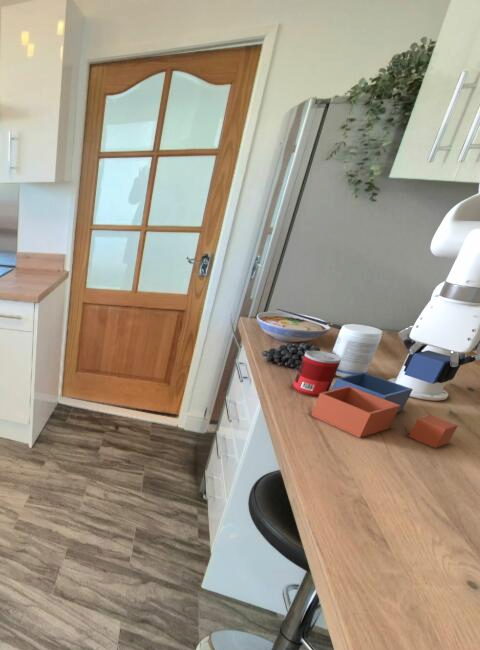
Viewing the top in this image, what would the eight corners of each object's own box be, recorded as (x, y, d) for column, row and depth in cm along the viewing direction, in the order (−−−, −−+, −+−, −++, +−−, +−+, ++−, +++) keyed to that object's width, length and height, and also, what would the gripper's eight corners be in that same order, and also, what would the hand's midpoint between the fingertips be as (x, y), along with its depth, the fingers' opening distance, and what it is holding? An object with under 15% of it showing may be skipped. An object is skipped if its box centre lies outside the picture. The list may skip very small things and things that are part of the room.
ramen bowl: (234, 331, 169) (240, 311, 165) (281, 326, 174) (288, 306, 170) (291, 354, 147) (299, 332, 143) (343, 348, 152) (352, 326, 148)
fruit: (266, 336, 137) (325, 345, 129) (267, 337, 144) (323, 346, 135) (258, 362, 139) (315, 373, 130) (259, 362, 146) (314, 372, 137)
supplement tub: (372, 378, 130) (393, 332, 123) (347, 381, 128) (367, 335, 121) (340, 366, 138) (358, 322, 132) (317, 368, 136) (334, 324, 130)
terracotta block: (420, 432, 103) (430, 414, 101) (447, 443, 99) (458, 425, 96) (408, 436, 101) (417, 418, 99) (435, 448, 97) (445, 429, 95)
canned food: (332, 398, 119) (347, 362, 114) (300, 395, 120) (313, 359, 115) (318, 386, 125) (331, 351, 120) (287, 383, 127) (300, 349, 122)
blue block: (417, 370, 95) (427, 350, 93) (446, 379, 91) (458, 358, 89) (403, 374, 94) (414, 353, 92) (432, 384, 90) (444, 362, 87)
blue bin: (354, 392, 122) (363, 372, 119) (401, 411, 112) (412, 389, 109) (327, 399, 118) (336, 378, 115) (374, 419, 109) (385, 396, 106)
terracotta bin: (339, 407, 114) (348, 385, 111) (389, 428, 105) (400, 405, 102) (310, 415, 110) (319, 393, 108) (359, 437, 101) (370, 414, 98)
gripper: (541, 302, 78) (489, 389, 87) (424, 282, 93) (389, 359, 101) (520, 307, 76) (468, 396, 84) (403, 285, 90) (369, 364, 98)
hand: (425, 375), depth 92 cm, fingers closed on blue block, 5 cm apart
